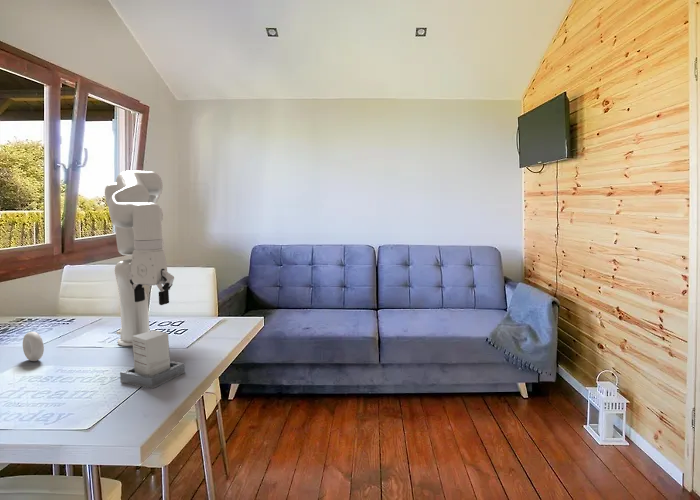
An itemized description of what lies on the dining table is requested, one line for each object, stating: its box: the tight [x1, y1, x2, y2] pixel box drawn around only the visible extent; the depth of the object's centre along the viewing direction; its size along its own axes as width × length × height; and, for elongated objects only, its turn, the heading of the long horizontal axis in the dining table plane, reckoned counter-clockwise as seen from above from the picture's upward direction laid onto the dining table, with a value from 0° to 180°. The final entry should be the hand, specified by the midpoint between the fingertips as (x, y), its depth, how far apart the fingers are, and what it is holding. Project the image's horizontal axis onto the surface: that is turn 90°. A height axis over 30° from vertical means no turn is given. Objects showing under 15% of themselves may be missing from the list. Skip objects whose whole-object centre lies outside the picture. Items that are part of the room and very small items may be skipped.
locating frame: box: [119, 360, 186, 389], centre depth 128 cm, size 12×12×3 cm
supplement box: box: [132, 329, 171, 376], centre depth 128 cm, size 7×7×13 cm
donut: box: [22, 331, 45, 362], centre depth 142 cm, size 10×4×10 cm, turn 57°
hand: (151, 302), depth 127 cm, fingers open, 9 cm apart
